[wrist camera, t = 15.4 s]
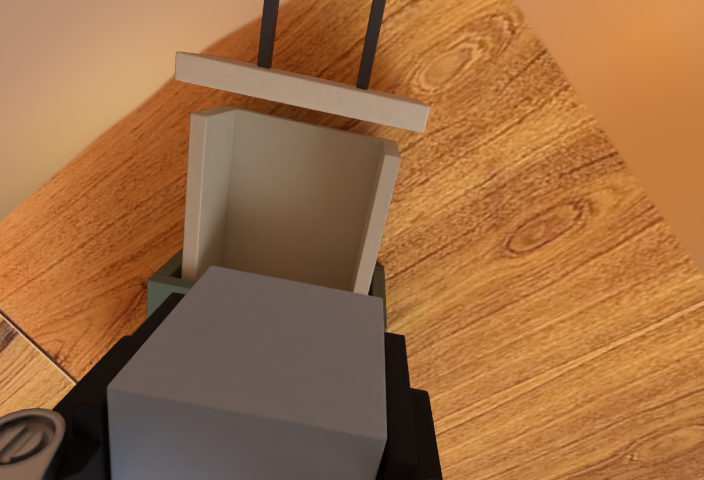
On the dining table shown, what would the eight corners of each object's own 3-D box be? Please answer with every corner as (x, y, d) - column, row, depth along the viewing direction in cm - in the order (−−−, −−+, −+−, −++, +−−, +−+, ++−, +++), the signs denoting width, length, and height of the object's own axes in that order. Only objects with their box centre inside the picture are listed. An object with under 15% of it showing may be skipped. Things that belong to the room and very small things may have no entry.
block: (210, 264, 11) (104, 386, 7) (383, 297, 11) (388, 438, 7) (202, 399, 12) (113, 565, 8) (351, 426, 12) (339, 605, 8)
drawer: (232, -98, 21) (183, -158, 16) (454, -48, 21) (481, -90, 16) (204, 268, 29) (164, 313, 23) (368, 301, 29) (366, 353, 23)
